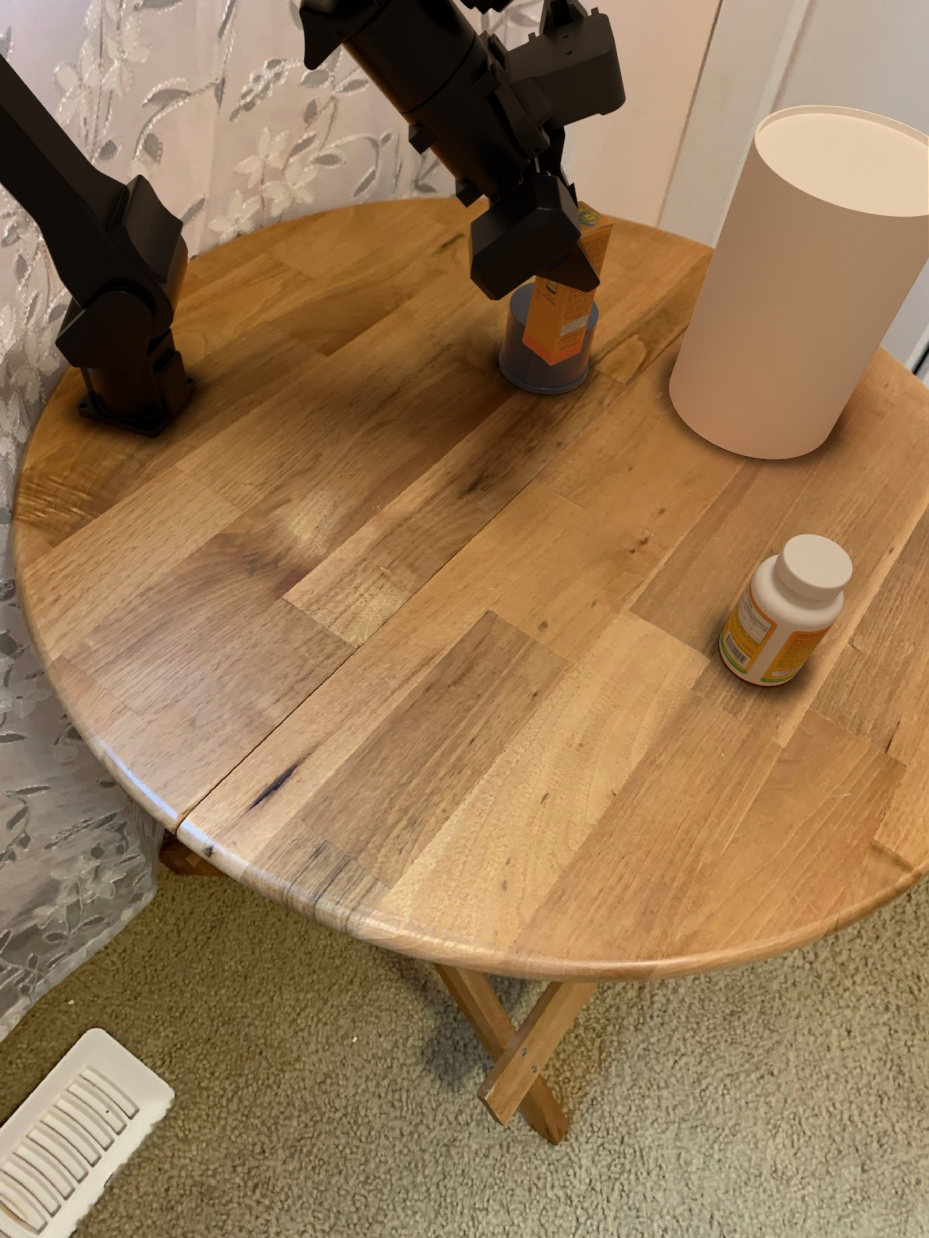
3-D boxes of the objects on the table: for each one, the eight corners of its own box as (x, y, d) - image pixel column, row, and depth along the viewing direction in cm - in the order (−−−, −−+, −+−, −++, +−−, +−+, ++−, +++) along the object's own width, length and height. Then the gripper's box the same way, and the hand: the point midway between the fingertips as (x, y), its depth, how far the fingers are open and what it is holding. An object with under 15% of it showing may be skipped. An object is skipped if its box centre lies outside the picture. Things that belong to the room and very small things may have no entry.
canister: (669, 336, 77) (749, 92, 61) (824, 361, 77) (946, 123, 60) (668, 443, 69) (760, 196, 53) (841, 471, 69) (986, 232, 53)
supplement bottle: (806, 639, 59) (873, 545, 51) (788, 701, 56) (857, 612, 48) (728, 607, 60) (782, 511, 52) (707, 667, 57) (761, 574, 49)
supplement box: (585, 352, 64) (618, 222, 56) (549, 368, 62) (578, 237, 54) (554, 327, 65) (583, 196, 57) (519, 342, 64) (543, 210, 56)
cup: (574, 405, 71) (588, 348, 66) (486, 379, 72) (494, 321, 67) (599, 343, 76) (614, 286, 71) (517, 320, 76) (526, 262, 72)
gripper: (574, 41, 39) (731, 280, 49) (542, -106, 50) (676, 115, 60) (389, 198, 45) (564, 384, 55) (396, 36, 56) (541, 216, 66)
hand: (590, 266), depth 59 cm, fingers closed on supplement box, 4 cm apart
